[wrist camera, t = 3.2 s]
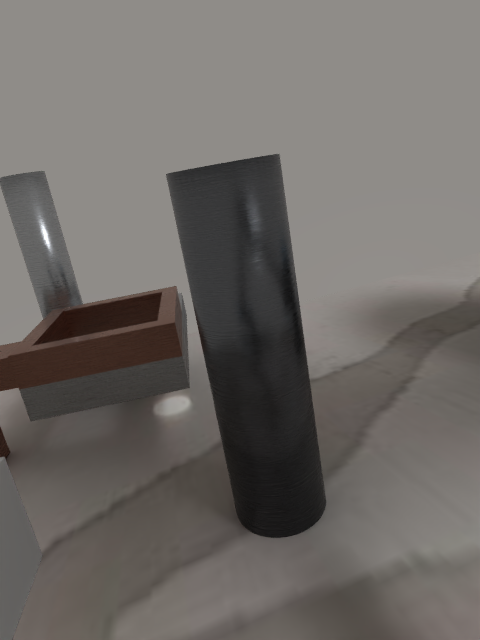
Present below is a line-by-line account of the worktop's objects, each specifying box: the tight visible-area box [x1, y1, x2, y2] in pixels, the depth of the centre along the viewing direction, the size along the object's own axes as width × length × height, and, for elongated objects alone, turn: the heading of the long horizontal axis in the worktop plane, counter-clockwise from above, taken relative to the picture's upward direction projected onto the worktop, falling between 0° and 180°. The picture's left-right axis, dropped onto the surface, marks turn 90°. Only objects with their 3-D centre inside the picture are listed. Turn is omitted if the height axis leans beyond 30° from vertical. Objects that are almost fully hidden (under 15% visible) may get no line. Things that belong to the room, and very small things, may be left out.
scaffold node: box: [0, 171, 190, 459], centre depth 31 cm, size 16×15×18 cm
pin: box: [166, 154, 326, 537], centre depth 20 cm, size 4×4×16 cm
